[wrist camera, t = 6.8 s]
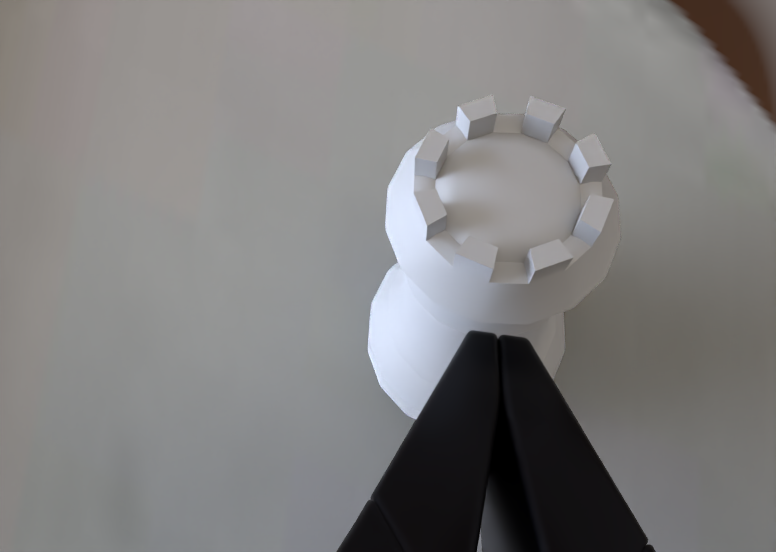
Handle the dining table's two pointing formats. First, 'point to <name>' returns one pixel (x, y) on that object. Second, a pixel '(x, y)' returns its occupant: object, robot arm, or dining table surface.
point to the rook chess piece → (489, 241)
